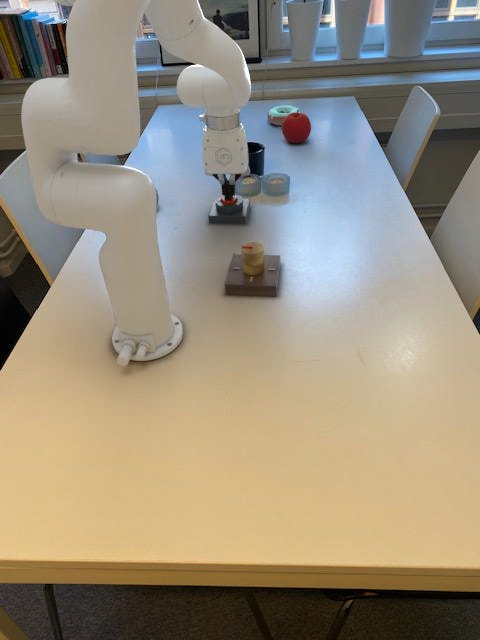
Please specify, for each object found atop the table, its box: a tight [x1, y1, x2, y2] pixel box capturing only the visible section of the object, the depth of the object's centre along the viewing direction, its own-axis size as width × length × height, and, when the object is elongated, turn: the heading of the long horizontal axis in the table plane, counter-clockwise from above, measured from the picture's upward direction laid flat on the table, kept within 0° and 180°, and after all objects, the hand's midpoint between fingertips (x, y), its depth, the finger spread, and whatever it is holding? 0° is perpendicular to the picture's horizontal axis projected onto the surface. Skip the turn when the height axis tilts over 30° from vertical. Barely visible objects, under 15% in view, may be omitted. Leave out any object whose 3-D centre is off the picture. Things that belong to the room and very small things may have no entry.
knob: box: [240, 241, 265, 275], centre depth 97 cm, size 4×4×5 cm
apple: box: [281, 109, 312, 144], centre depth 154 cm, size 9×9×10 cm
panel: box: [224, 253, 281, 298], centre depth 99 cm, size 11×10×3 cm
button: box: [222, 195, 237, 204], centre depth 119 cm, size 4×4×2 cm
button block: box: [208, 194, 251, 225], centre depth 121 cm, size 9×9×4 cm
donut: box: [266, 105, 302, 127], centre depth 171 cm, size 12×12×4 cm
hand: (229, 197), depth 119 cm, fingers closed
